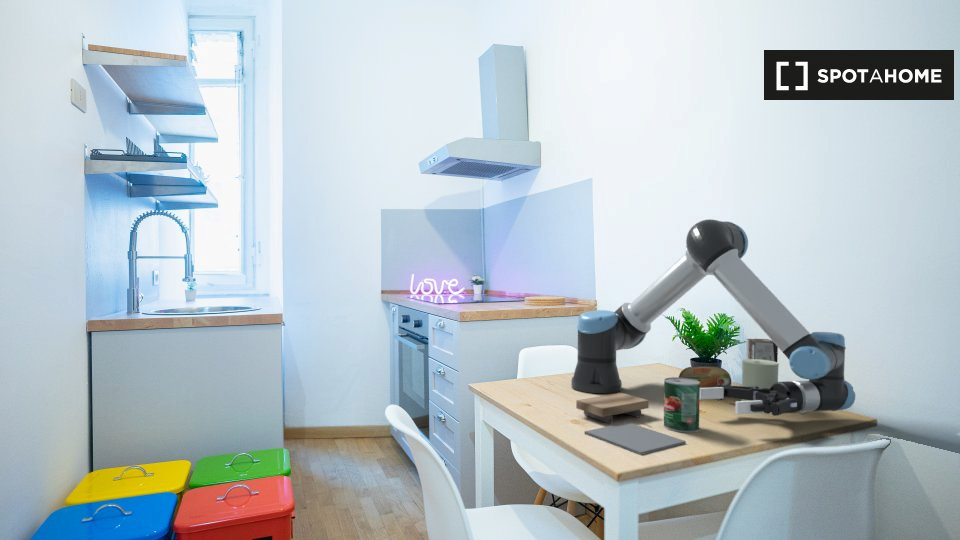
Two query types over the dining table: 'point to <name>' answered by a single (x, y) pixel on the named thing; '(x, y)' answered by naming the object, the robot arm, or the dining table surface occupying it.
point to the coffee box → (762, 349)
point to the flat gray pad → (635, 438)
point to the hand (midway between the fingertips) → (717, 400)
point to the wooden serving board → (612, 406)
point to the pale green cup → (759, 373)
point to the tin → (707, 376)
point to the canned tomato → (681, 404)
